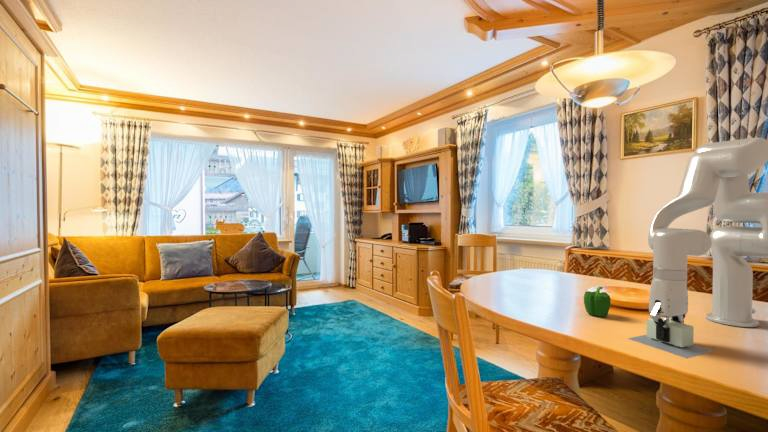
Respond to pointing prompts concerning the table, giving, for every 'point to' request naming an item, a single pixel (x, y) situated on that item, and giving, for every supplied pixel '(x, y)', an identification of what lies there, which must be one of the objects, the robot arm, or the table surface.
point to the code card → (672, 347)
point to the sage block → (674, 332)
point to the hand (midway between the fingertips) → (669, 338)
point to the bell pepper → (597, 302)
